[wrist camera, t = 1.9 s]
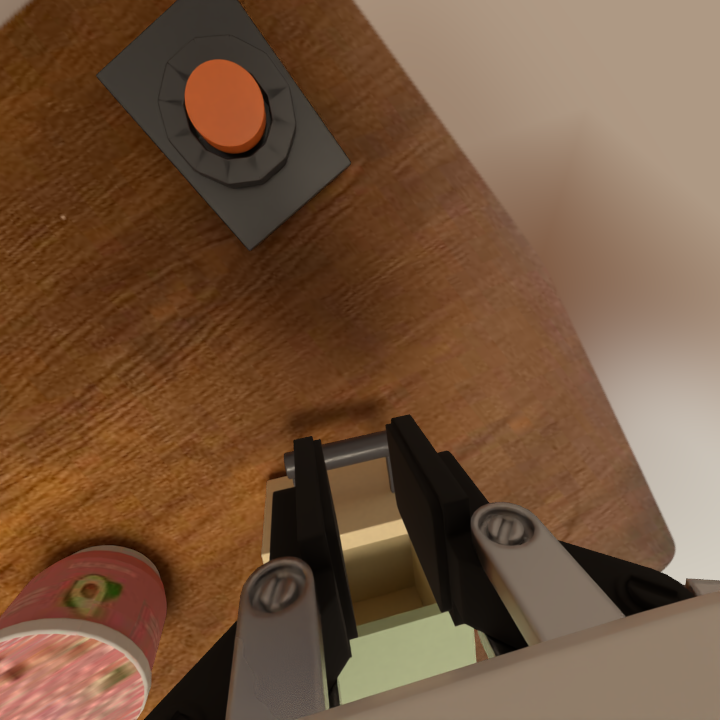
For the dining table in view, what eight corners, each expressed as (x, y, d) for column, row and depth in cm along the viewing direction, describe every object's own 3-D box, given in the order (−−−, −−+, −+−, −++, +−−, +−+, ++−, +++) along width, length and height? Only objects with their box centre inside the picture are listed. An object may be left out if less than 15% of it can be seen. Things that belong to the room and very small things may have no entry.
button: (176, 105, 19) (166, 93, 18) (231, 57, 19) (226, 40, 18) (229, 169, 21) (224, 163, 19) (280, 123, 21) (280, 113, 19)
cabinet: (279, 548, 32) (277, 661, 24) (425, 511, 34) (472, 604, 25) (312, 669, 37) (320, 799, 28) (438, 631, 38) (482, 744, 30)
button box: (109, 87, 21) (76, 59, 18) (219, -14, 21) (206, -61, 18) (251, 250, 25) (246, 252, 22) (347, 167, 25) (357, 157, 21)
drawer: (252, 428, 28) (242, 491, 21) (407, 395, 29) (444, 443, 22) (301, 612, 33) (306, 709, 26) (428, 577, 35) (463, 660, 28)
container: (208, 590, 32) (184, 698, 25) (99, 656, 32) (41, 785, 25) (118, 504, 28) (58, 600, 21) (-5, 579, 28) (-109, 702, 21)
